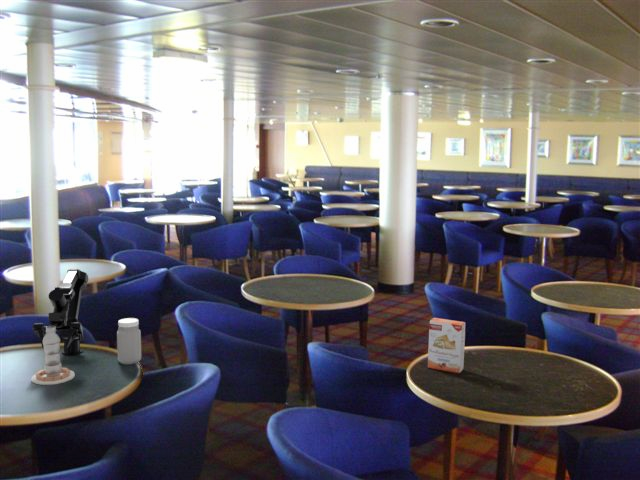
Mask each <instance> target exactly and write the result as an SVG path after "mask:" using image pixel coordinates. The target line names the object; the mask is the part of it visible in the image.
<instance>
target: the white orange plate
mask: <svg viewBox="0 0 640 480" xmlns="http://www.w3.org/2000/svg"><path fill="white" fill-rule="evenodd" d="M75 376H76V374H75V372H74V371H73V370H70V369H69V368H68V367H63V366H62V372H61V374H60V375H58V376H53V377H49V376H46V375H45V372H44V369H41V370H39V371H37V372H36V373H35V374H33V375H32V376H31V378H30V379H31V383H33V384H35V385H39V386H54V385H59V384H63V383H66V382H69V381H71V380H73V379H74V378H75Z"/></svg>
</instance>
